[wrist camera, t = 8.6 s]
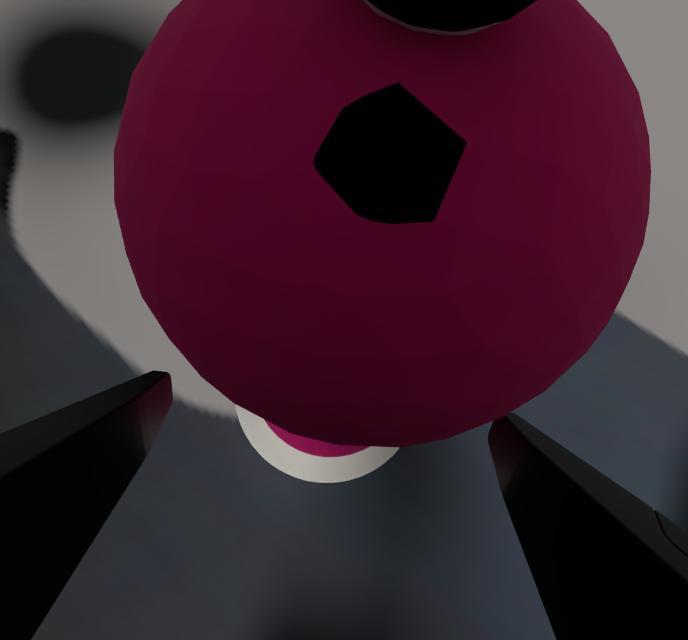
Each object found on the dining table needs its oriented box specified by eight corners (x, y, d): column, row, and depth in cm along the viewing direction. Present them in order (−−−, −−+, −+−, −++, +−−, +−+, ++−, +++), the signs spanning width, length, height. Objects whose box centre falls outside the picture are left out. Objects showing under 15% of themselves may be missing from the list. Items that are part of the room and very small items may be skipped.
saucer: (355, 523, 18) (357, 528, 17) (198, 407, 19) (192, 406, 19) (445, 360, 22) (451, 356, 21) (307, 272, 23) (307, 265, 22)
